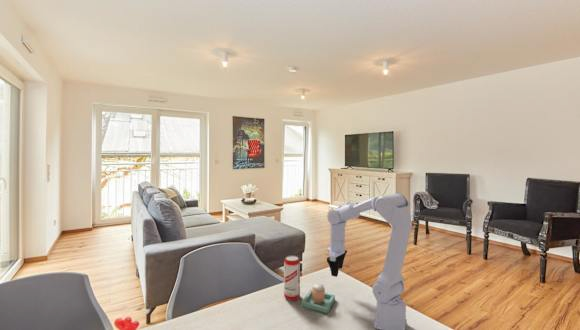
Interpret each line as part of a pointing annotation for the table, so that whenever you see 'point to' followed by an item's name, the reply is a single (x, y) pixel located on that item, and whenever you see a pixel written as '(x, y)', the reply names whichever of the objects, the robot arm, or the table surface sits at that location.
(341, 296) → the table surface
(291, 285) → the beer can
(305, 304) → the tray
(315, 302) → the shaker
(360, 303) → the table surface
